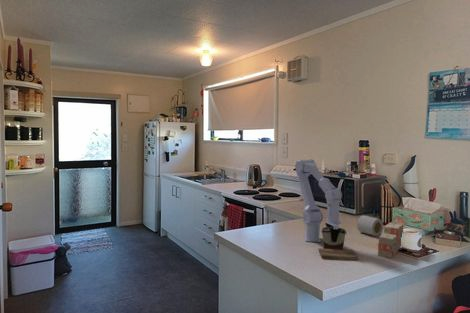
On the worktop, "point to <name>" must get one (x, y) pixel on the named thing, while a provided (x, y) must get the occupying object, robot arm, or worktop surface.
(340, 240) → the food container
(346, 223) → the worktop surface
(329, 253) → the walnut base
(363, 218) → the toilet paper
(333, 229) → the robot arm
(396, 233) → the stack of blocks
